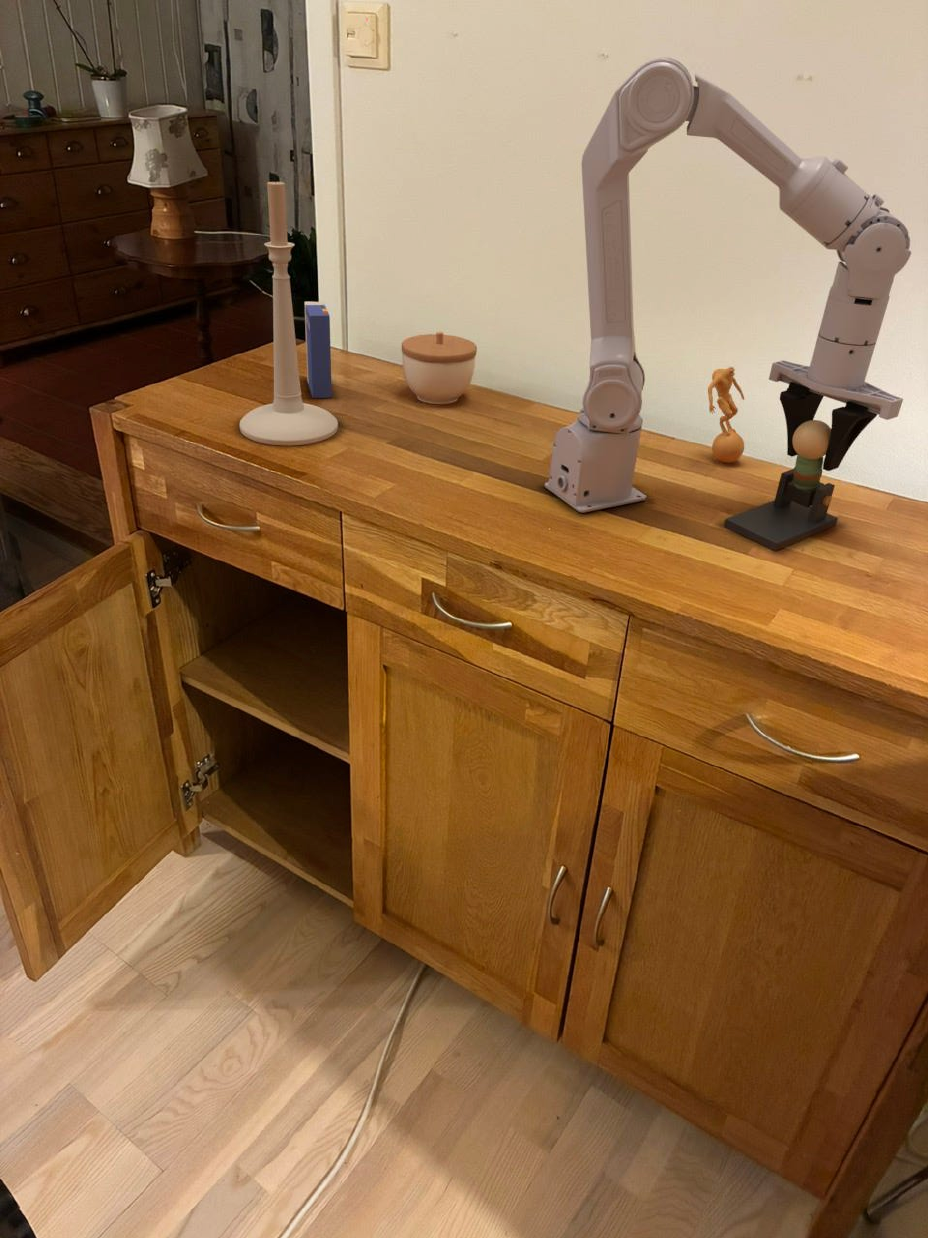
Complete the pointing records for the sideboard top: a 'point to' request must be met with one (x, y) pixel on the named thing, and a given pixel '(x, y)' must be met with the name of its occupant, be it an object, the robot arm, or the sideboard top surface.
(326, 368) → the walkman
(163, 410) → the sideboard top surface
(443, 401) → the trinket box
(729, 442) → the figurine
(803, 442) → the peg doll
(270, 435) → the candlestick
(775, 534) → the toy stand
